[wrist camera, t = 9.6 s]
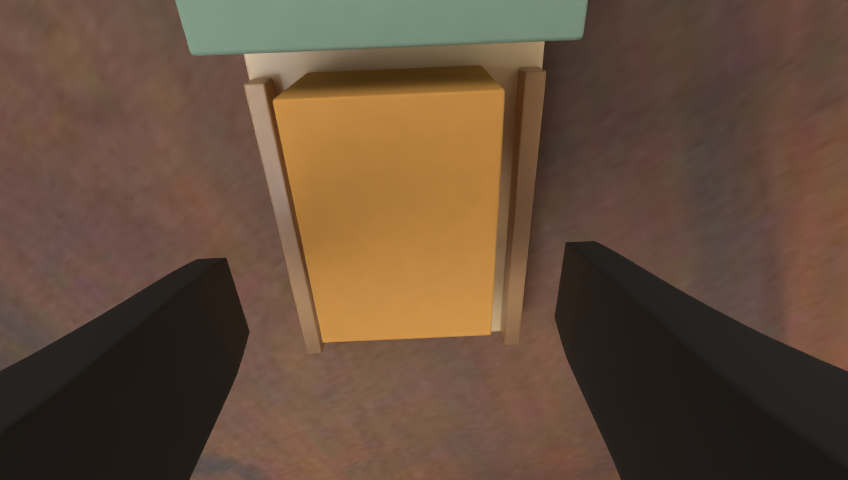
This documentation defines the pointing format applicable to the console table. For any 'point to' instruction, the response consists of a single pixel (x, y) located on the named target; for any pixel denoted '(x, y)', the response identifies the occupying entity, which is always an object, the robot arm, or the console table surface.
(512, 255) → the assembly board
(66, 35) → the console table surface
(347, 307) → the orange block
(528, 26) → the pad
